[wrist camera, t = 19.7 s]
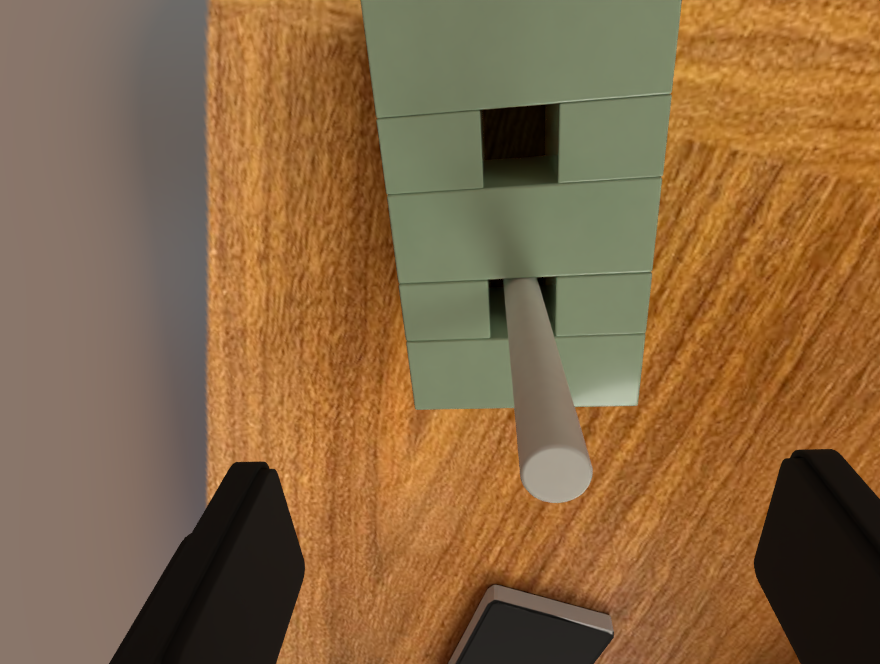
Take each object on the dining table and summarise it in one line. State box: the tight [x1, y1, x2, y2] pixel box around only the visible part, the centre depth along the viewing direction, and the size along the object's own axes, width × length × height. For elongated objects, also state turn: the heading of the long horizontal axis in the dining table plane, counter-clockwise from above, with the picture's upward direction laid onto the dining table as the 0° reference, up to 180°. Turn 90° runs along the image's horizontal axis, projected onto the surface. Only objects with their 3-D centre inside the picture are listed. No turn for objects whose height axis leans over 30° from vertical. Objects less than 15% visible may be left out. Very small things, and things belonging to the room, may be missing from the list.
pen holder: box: [361, 0, 682, 410], centre depth 19 cm, size 13×8×4 cm, turn 5°
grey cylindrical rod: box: [503, 277, 593, 503], centre depth 15 cm, size 1×1×14 cm
